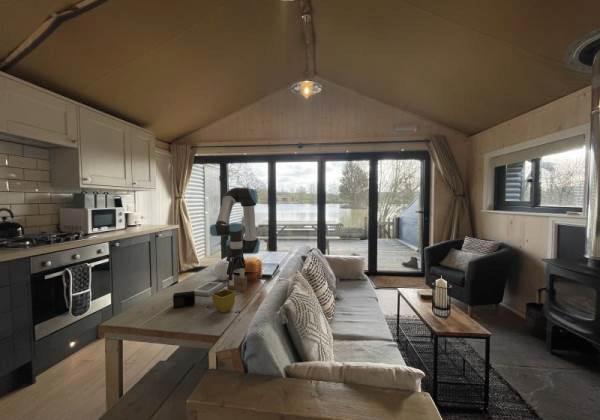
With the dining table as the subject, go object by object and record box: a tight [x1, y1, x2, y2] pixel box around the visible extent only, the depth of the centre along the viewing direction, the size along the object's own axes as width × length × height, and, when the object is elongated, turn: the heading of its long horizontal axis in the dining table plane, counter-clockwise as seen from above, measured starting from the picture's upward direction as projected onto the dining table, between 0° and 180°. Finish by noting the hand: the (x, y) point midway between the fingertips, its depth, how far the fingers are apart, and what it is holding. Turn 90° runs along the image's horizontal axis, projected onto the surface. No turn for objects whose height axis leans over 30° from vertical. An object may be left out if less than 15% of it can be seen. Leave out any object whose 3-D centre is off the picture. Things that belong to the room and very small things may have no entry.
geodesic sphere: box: [213, 260, 229, 281], centre depth 189 cm, size 14×14×14 cm
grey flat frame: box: [192, 281, 227, 297], centre depth 170 cm, size 20×14×2 cm
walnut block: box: [226, 274, 248, 292], centre depth 170 cm, size 4×11×8 cm, turn 75°
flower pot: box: [211, 288, 237, 314], centre depth 140 cm, size 9×9×9 cm
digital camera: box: [172, 290, 196, 309], centre depth 146 cm, size 10×5×7 cm, turn 107°
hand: (237, 281), depth 170 cm, fingers open, 13 cm apart
